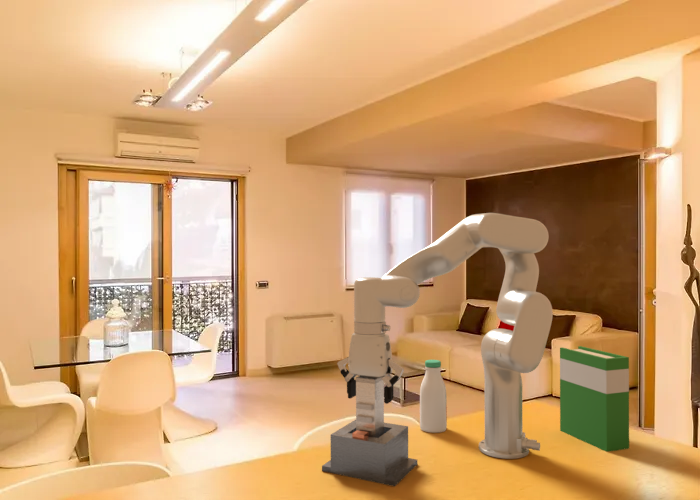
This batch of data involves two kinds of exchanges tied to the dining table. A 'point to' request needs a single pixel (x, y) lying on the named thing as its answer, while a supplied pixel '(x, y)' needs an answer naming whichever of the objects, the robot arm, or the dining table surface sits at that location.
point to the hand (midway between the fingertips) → (369, 399)
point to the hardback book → (595, 397)
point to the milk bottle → (433, 399)
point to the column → (370, 405)
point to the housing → (371, 454)
